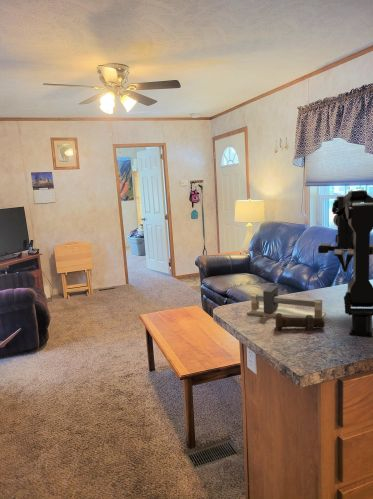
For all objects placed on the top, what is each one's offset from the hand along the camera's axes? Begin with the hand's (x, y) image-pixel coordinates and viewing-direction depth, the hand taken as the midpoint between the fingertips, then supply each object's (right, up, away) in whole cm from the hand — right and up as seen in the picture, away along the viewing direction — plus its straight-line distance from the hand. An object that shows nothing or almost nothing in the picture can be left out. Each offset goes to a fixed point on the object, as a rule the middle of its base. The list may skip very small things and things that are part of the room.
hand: (345, 271), depth 141 cm
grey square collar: (-28, -15, -1) cm, 32 cm away
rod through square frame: (-23, -15, -3) cm, 28 cm away
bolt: (-22, -18, -18) cm, 34 cm away
